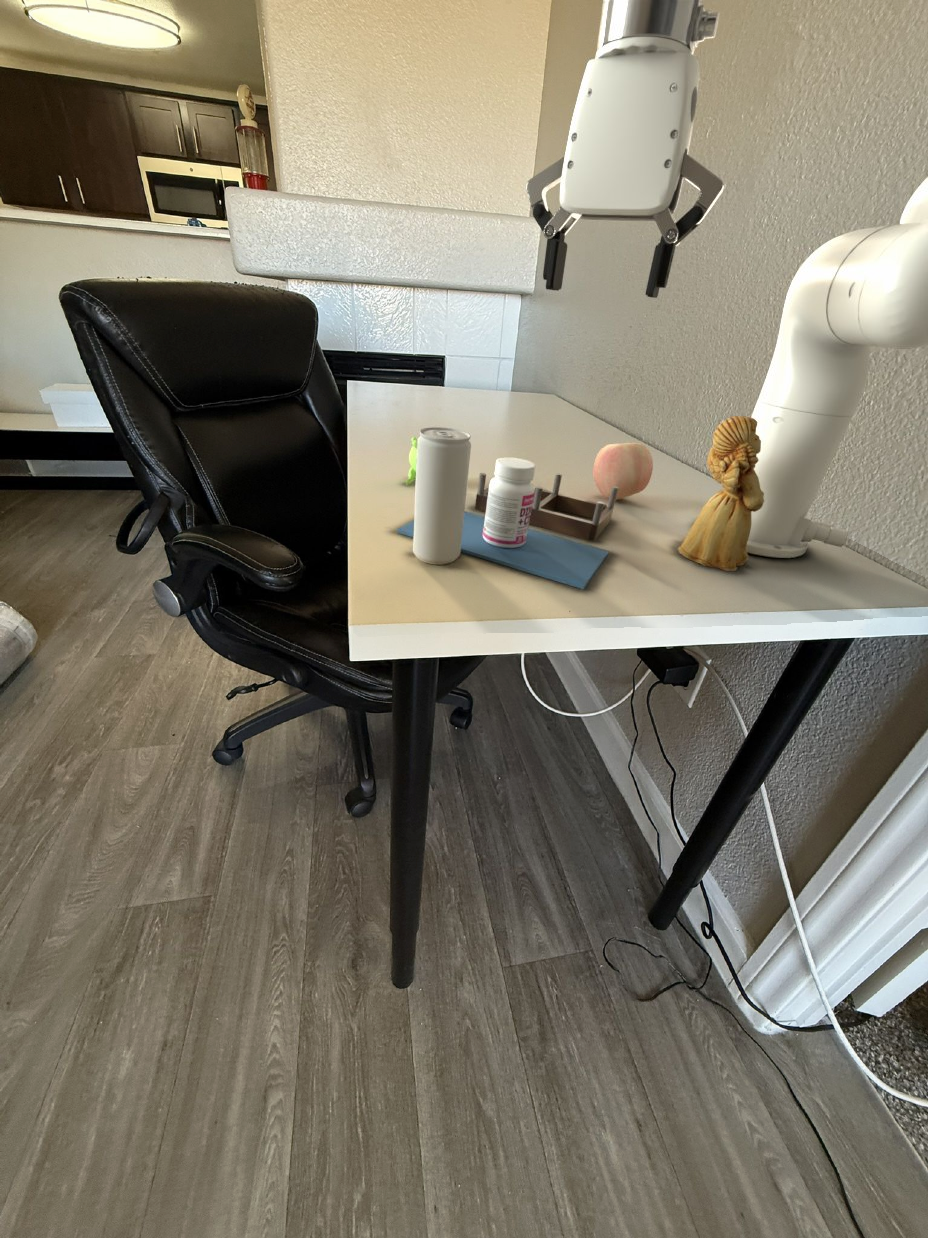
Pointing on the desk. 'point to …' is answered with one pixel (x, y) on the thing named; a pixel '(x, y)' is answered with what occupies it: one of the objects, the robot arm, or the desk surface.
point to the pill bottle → (509, 503)
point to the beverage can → (440, 493)
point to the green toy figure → (412, 461)
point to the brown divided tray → (556, 521)
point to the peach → (622, 469)
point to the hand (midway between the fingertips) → (600, 293)
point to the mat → (532, 553)
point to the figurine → (728, 498)
